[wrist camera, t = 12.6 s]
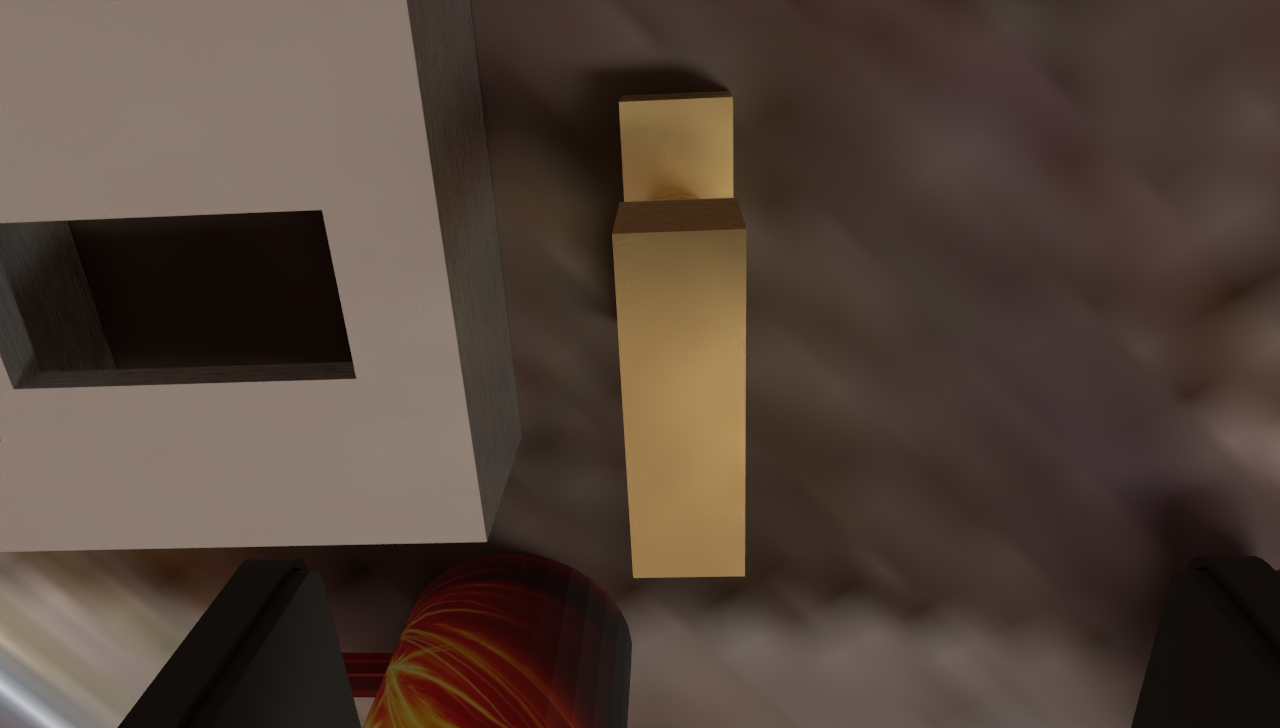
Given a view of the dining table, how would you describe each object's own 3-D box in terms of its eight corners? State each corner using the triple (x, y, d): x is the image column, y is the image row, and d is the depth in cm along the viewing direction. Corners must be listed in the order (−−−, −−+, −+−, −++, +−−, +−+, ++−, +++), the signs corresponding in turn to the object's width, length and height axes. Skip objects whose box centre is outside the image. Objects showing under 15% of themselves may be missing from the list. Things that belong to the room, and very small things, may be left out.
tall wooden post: (729, 90, 27) (783, 197, 14) (730, 327, 30) (774, 595, 17) (621, 95, 27) (573, 205, 14) (634, 330, 30) (605, 598, 17)
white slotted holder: (465, -34, 26) (400, -38, 20) (521, 435, 32) (486, 542, 26) (-45, -5, 26) (-260, 0, 20) (111, 446, 33) (-17, 552, 27)
